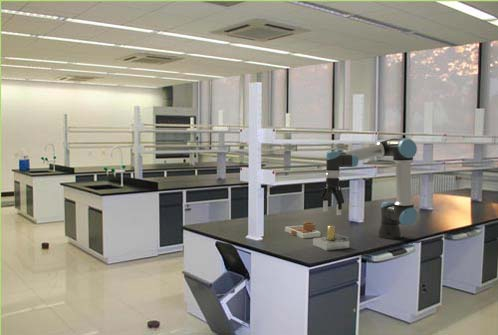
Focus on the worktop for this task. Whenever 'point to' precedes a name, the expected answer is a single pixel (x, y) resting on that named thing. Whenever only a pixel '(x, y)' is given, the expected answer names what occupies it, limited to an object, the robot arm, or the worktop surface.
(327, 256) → the worktop surface
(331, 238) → the gold brass cylinder
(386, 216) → the robot arm
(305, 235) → the cradle
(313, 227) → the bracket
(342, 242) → the jig
